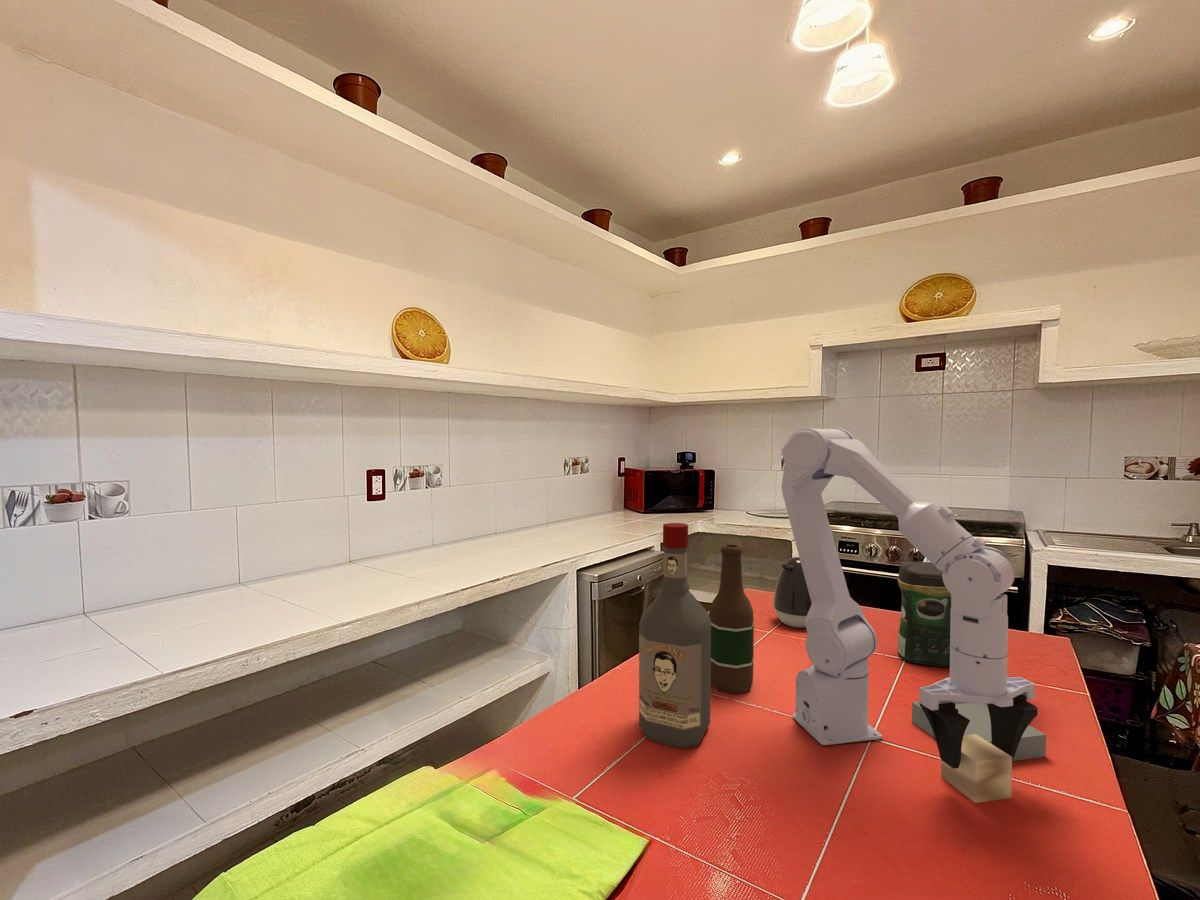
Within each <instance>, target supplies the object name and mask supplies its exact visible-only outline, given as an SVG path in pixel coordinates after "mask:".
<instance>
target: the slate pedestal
mask: <svg viewBox="0 0 1200 900" xmlns="http://www.w3.org/2000/svg"><path fill="white" fill-rule="evenodd" d="M911 704H912V705H911V723H913V724H914V725H915V726H917V727H918V728H920V729H921V730H922V731H924V732H926V733H927V734H928V735H930V736H931V737H933V738H934V739H935V736H934V733H933V730H932V728H931V725H930V723H929V721H928V719H927V717H926V715H925V713H924V711H923V710H922V708H921V706H920V704H919V700H918V701H912V703H911ZM955 709H958V713H959V714H961V715H962V716H964V717H966V718H967V719H969V720H970V722H969V724H968V726H967V728H966V730H965V733H964V735H972V734H976V735H978V736H980V737H981V738H983V739H984V740H986V741H988V742H989V743H991V744H992V738H991V720H990V714H989V710H988V706H987V703H966V704H957V705H955ZM1046 754H1047V734H1046V733H1043V732H1042V731H1040V730H1039V729H1037V728H1035V727H1033V726H1032V725H1030V724H1029V725H1028V727H1027V728H1026V730H1025V731H1024V733H1023V735H1022V737H1021V740H1020V742H1019V745H1018V747H1017V750H1016V753H1015V756H1014V758H1013V761H1012V762H1016V761H1023V760H1024V761H1025V760H1032V759H1039V758H1046V756H1047V755H1046Z"/></svg>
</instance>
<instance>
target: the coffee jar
mask: <svg viewBox="0 0 1200 900" xmlns="http://www.w3.org/2000/svg"><path fill="white" fill-rule="evenodd" d="M942 574H943V572H942V571H940V570H938V569H937V568H936V567H935V566H934V565H933V564H932V563H931V562H930V561H929V562H928V561H911V560H910V561H907V560H905V561H904V560H903V561H901V562H900V564H899V571H898V577H897V584H898V587H899V589H900V594H901V610H900V618H899V626H898V627H899V628H898V635H897V636H898V637H897V652H898V655H899V656H900V657H901V658H903V659H904V660H906V661H908V662H909V663H910V662H911V663H914V664H918V665H926V666H927V665H928V666H937V667H939V666H940V667H950V621H951V594H950V592H949V591H948V590H947V588H946V587H945V585H944V582H943V578H942Z"/></svg>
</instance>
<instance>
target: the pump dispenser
mask: <svg viewBox="0 0 1200 900" xmlns="http://www.w3.org/2000/svg"><path fill="white" fill-rule="evenodd" d="M781 567H782V568H781V571H780V573H779V575H778V579H777V581H776V584H775V590H774V594H773V595H774V596H773V602H772V603H773V608H774V609H775V614H776V616H777V617H778V619H779V620H780V622H782V623H783V624H785V625H786V626H788V627H792V628H797V629H803V628H806V625H805V619H806V617H807V614H808V612H809V610H810V607H811V604H812V603H811V599H810V595H809V591H808V588H807V584H806V580H805V576H804V573H803V569H802V565H801V561H800V558H799V556H795V557H794V556H793V557H790V558H789V559H788V560H786V562H785V563H783V564H782V565H781Z"/></svg>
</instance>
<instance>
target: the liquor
mask: <svg viewBox="0 0 1200 900" xmlns="http://www.w3.org/2000/svg"><path fill="white" fill-rule="evenodd" d="M662 525H663V526H662V547H663V581H662V582H663V583H662V584H661V591H660V593H658V594H657V596H656V597H655V598H654V600H653V601H652V602H651V603H650V604H649V606H648V607H647V608H646V609H645V610H644V612H642V614H641V616H640V620H639V621H638V655H639V656H638V726H639V728H640V729H641V731H642V733H643V734H644V735H645V736H646V738H647V739H648V740H649V741H651V742H655V743H658V744H662V745H666V746H670V747H674V748H679V749H688V748H692V747H697V746H699V744H700V743H701V741H702V739H703V737H704V735H705V733H706V731H707V729H708V727H709V725H710V723H711V691H712V690H711V687H712V686H711V619H710V617H709V611H707V609H705V608H704V606H703V605H702V604H701V603H700V602H699V601H698V599H697V598H696V597H695V596H694V595H693V593H692V592H691V591H690V585H689V582H688V548H689V524H687V523H682V522H667V523H663V524H662Z"/></svg>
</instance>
